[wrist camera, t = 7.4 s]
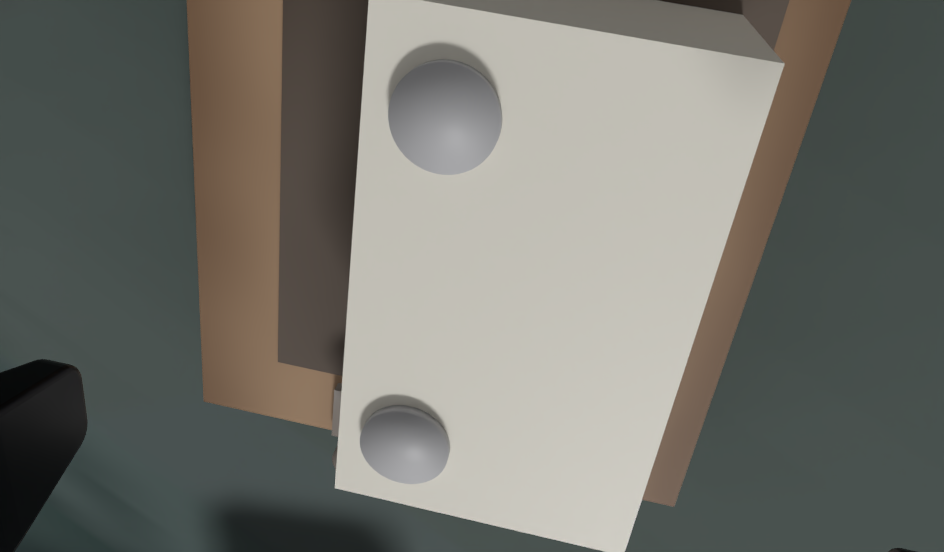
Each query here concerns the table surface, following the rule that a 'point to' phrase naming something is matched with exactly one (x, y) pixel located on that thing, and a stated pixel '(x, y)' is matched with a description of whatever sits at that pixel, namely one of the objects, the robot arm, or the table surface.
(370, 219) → the white block
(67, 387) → the robot arm
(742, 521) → the table surface
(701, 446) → the table surface
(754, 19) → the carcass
